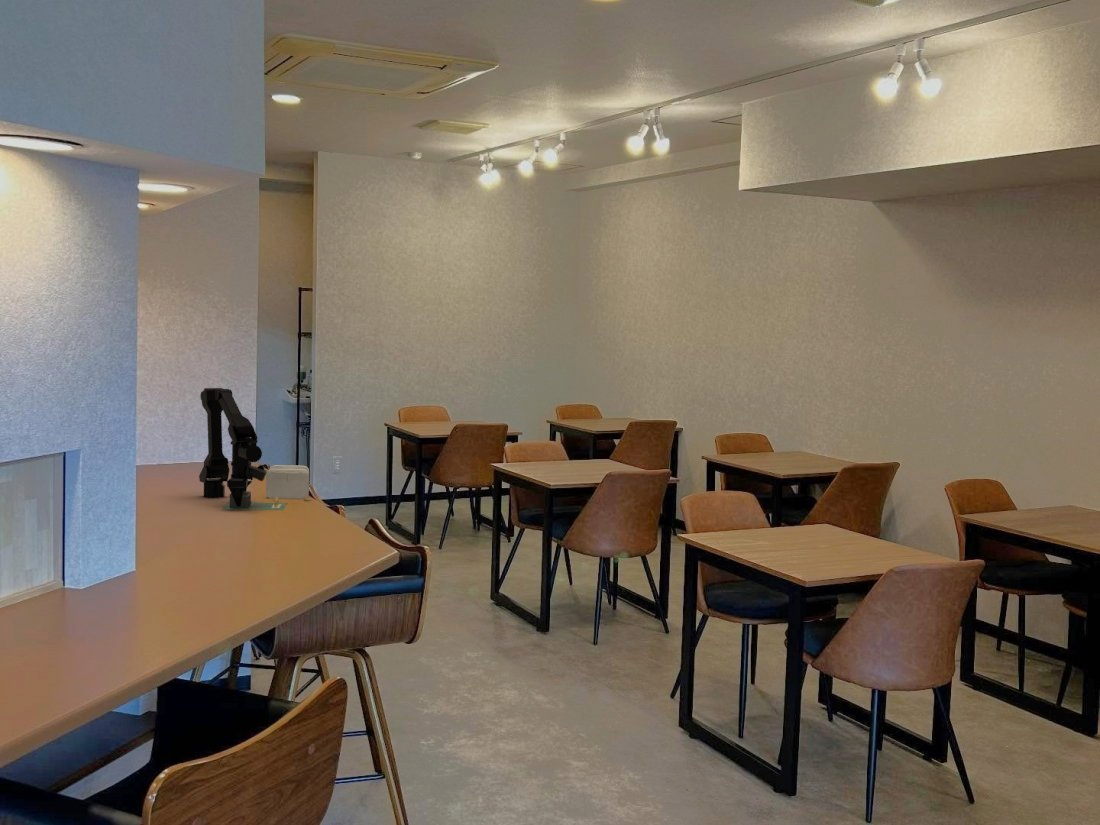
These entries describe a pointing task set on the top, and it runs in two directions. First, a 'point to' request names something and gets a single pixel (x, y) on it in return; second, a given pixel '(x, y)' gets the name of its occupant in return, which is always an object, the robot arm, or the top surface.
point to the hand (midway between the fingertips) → (240, 504)
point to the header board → (260, 506)
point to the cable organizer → (287, 482)
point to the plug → (244, 502)
